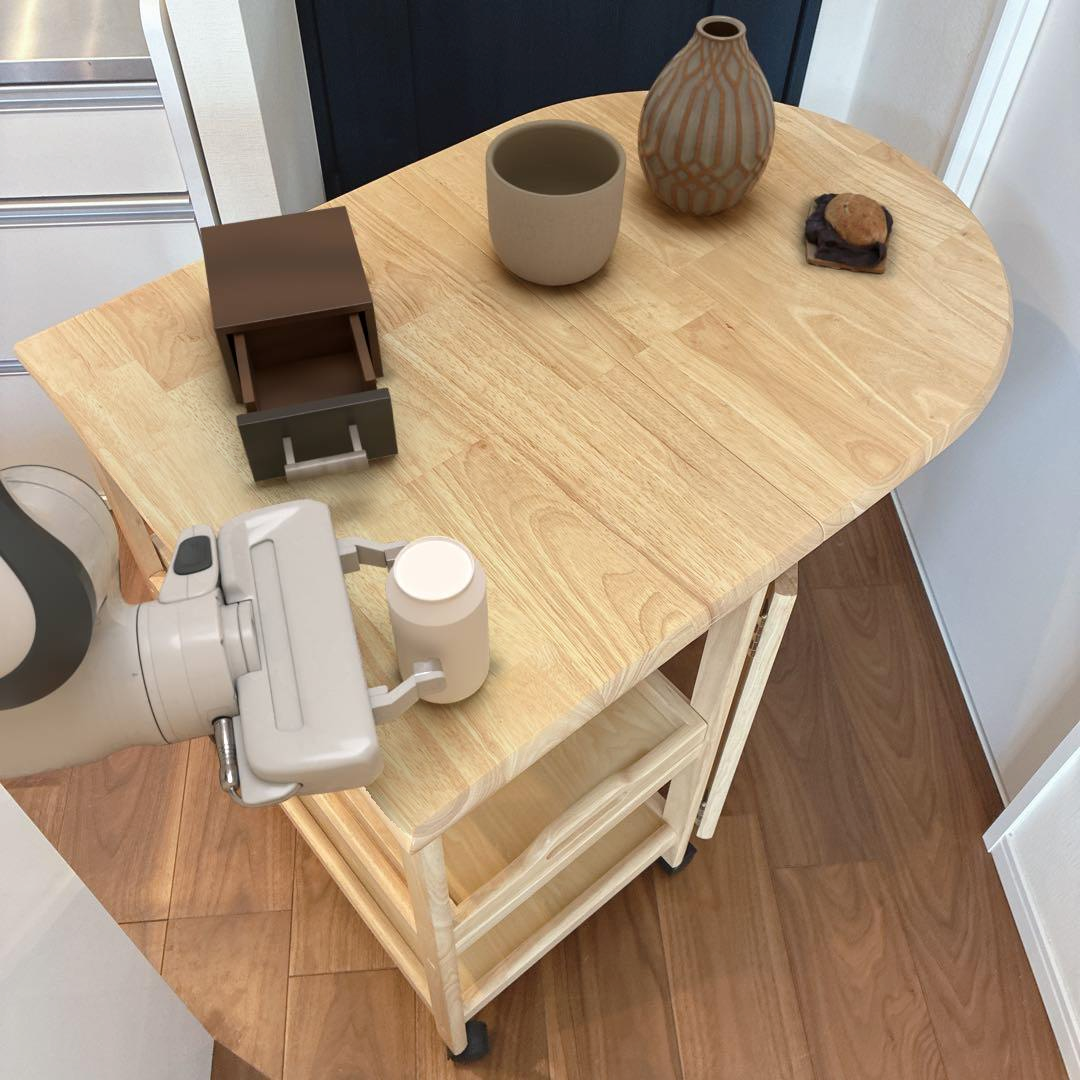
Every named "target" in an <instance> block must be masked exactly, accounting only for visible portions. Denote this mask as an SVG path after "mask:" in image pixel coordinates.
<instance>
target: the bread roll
mask: <svg viewBox="0 0 1080 1080" xmlns="http://www.w3.org/2000/svg"><path fill="white" fill-rule="evenodd" d="M893 225H894V219H893V215H892V214H891V212H889V210H888V209H887V208H886V206H885V205H884V204H880V203H879V202H877V201H876V200H875V199H872V198H870V197H868V196H865V195H863V194H860V193H852V192H843V193H833V192H830V193H823V194H821V195H817V196H814V197H813V198H812V200H811V203H810V205H809V210H808V214H807V219H806V220H805V227H804V230H805V233H804V236H805V241H804V244H805V257H806V263H808V264H811V265H814V266H816V267H818V266H822V267H826V268H831V269H836V270H841V269H845V270H849V271H851V272H867V273H875V274H884V272H885V271H886V269H887V265H886V264H887V255H888V254H889V252H888V250H889V241H890V239H889V237H890V234H891V233H892V230H893Z"/></svg>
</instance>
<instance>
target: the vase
mask: <svg viewBox="0 0 1080 1080" xmlns="http://www.w3.org/2000/svg"><path fill="white" fill-rule="evenodd" d="M746 35H747V28H746V25H745V24H744V23H743V22H742V21H740V20H739V19H737V18H735V17H731V16H727V15H711V16H706V17H703V18H701V19H700V20H699V21H698V22H697V23H696V27H695V31H694V33H693V35H692V36H691V38H690V39H689V40H688V42H687V43H686V44H685V45H684V46H683V47H682V48H681V49H680V50H679V51H677V53H676V54H675V55H674V56H673V57H672V58H671V59H670V60H669V62H667V64H665V66H664V67H663V69H662V70H661V71H660V72H659V73H658V75H657V76H656V77H655V80H653V83H652V84H651V86H650V88H649V90H648V92H647V95H646V96H645V99H644V102H643V105H642V107H641V112H640V116H639V121H638V127H637V143H636V144H637V156H638V159H639V164H640V168H641V171H642V173H643V177H644V178H645V181H646V182H647V184H648V186H649V188H650V189H651V190H652V192H653V193H654V194H655V195H656V196H657V197H658V198H659V199H660V200H661V201H662V202H663V203H665V204H666V205H667V206H668V207H670V208H671V209H672V210H674V211H676V212H678V213H680V214H684V215H687V216H694V217H706V216H712V215H715V214H718V213H721V212H723V211H724V210H727V209H730V208H731V207H733V206H735V205H736V204H738V203H740V202H741V201H742V200H743V199H744V198H746V197H747V195H748V194H749V193H750V192H751V191H753V189H754V188H755V186H756V185H757V184H758V182H759V181H760V179H761V178H762V177H763V175H764V172H765V171H766V169H767V166H768V164H769V160H770V158H771V154H772V151H773V146H774V141H775V132H776V110H775V109H776V108H775V104H774V98H773V95H772V94H773V93H772V91H771V88H770V85H769V82H768V80H767V78H766V75H765V74H764V72H763V70H762V68H761V66H760V65H759V62H758V61H757V59H756V58H755V56H754V55H753V52H752V51H751V49H750V47H749V44H748V41H747V37H746Z"/></svg>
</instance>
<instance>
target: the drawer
mask: <svg viewBox="0 0 1080 1080" xmlns="http://www.w3.org/2000/svg"><path fill="white" fill-rule="evenodd" d="M233 336H234V342H235V348H236V355H237V361H238V368H239V374H240V380H241V387H242V393H243V400H244V401H243V405H244V408H245V412H246V413H241V414H236V415H235V419H236V425H237V429H238V432H239V436H240V440H241V443H242V445H243V449H244V452H245V456H246V459H247V462H248V465H249V469H250V472H251V476H252V479H253V482H255V483H259V482H264V481H268V480H273V479H279V478H285V477H286V482H287V483H288V484H295V483H300V482H305V481H311V480H315V479H320V478H325V477H330V476H331V477H332V476H335V475H340V474H346V473H351V472H355V471H356V472H357V471H360V470H365V469H369V468H370V466H369V461H371V460H375V459H380V458H386V457H391V456H396V455H399V447H398V441H397V434H396V425H395V419H394V412H393V404H392V397H391V394H390V393H391V392H390V389H389V387H383V388H382V387H381V388H378V383H377V377H375V374H374V370H373V367H372V363H371V359H370V355H369V352H368V348H367V344H366V341H365V337H364V333H363V329H362V326H361V322H360V318H359V315H358V312H355V313H349V314H343V315H337V316H331V317H325V318H320V319H314V320H308V321H302V322H296V323H290V324H284V325H279V326H273V327H267V328H261V329H255V330H249V331H243V332H237V333H233Z"/></svg>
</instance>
